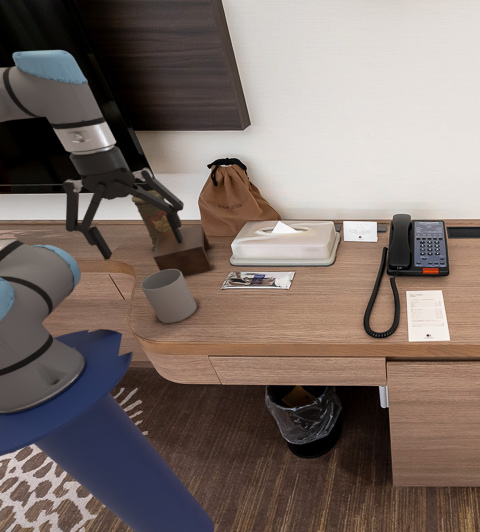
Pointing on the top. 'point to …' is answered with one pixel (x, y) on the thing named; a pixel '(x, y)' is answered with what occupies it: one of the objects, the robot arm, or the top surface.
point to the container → (152, 217)
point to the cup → (169, 295)
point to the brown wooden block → (183, 251)
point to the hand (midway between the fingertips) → (145, 248)
